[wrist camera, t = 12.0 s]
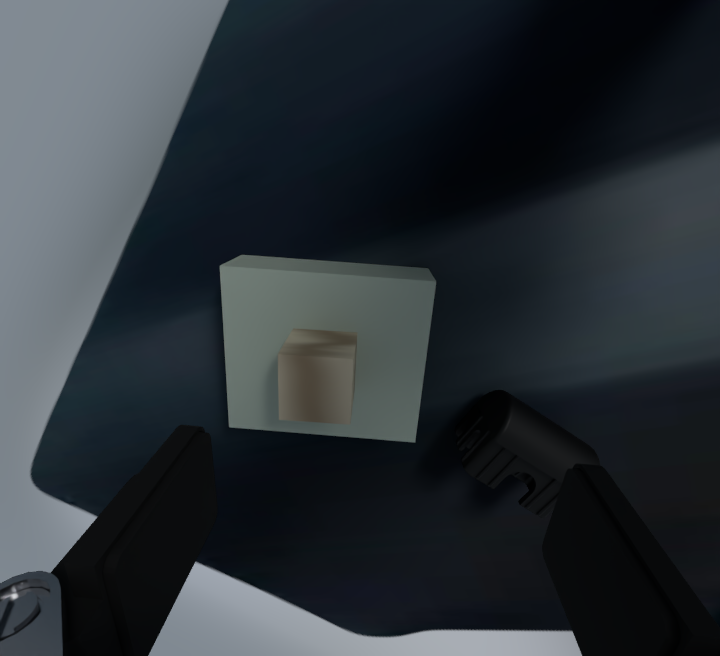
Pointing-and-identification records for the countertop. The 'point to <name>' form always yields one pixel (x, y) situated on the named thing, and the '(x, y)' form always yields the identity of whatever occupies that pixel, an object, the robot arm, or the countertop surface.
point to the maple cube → (317, 376)
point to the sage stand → (331, 313)
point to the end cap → (519, 449)
